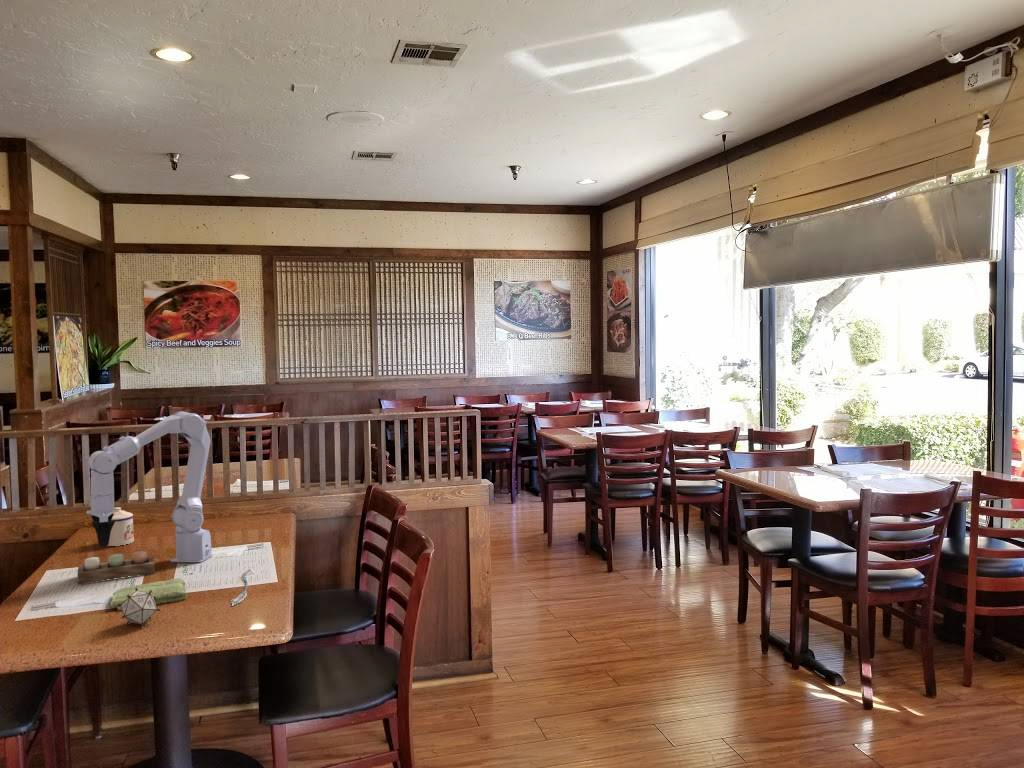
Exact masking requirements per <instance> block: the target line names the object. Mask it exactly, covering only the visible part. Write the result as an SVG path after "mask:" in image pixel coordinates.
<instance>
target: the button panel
mask: <svg viewBox="0 0 1024 768" xmlns="http://www.w3.org/2000/svg"><path fill="white" fill-rule="evenodd" d="M123 563H124V564H123V565H120V566H114V567H112V566H109V561H106V562H99V565H100V567H99V568H97V569H93V570H86V569H85V564H83V565H78V567H77V584H79V585H85V584H84V583H86V584H92V583H91V582H93V583H97V582H96V581H100V582H103V581H102V580H107V579H114V578H121V577H128V576H135V577H138V576H137V575H142V576H148V575H147V574H149V575H153V574H156V573H155V561H154V556H153V555H151V556H150V555H149V556H147V561H146V562H143V563H133V558H126V559H123ZM145 574H146V575H145ZM128 578H129V577H128ZM121 579H122V578H121ZM114 580H115V579H114ZM107 581H108V580H107Z"/></svg>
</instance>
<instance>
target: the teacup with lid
mask: <svg viewBox="0 0 1024 768" xmlns="http://www.w3.org/2000/svg"><path fill="white" fill-rule="evenodd" d="M114 509H115V512H114V513H113V514H114V515H113V517H112V519H111V521H112V520H115V523H114V525H113V527H112V530H111V533H110V539H109V544H108V546H107V547H109V546H116V547H121V546H120V545H124V546H127V545H126V544H128V545H130V543H131V544H132V543H133V542H134V541H135V537H134V534H135V533H134V532H135V531H134V514H133V513H132V512H129V511H126V510H124V509H123V510H122V507H119V506H117V507H114Z"/></svg>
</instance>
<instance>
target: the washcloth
mask: <svg viewBox="0 0 1024 768" xmlns="http://www.w3.org/2000/svg"><path fill="white" fill-rule="evenodd" d="M135 588H138V590H137V591H141V592H147V593H149V592H150V591H151V590H152V592H151V593H150V594H151V595H152V597H153V598H154V597H156V599H154V600H155V603H156V604H158V605H161V604H160V603H164V604H167V602H169V603H175V602H181V600H182V601H184V600H185V599H186V598H187V596H188V593H187V591H186V582H185V580H184V579H182V578H180V577H175V578H171V579H168V580H161V581H154V582H148V583H143V584H137V585H131V586H127V587H126V586H125V587H121V588H118V589H117V590H115V591H114V592H113V594H112V596H111V598H110V604H109V606H110V608H111V609H115V608H117V611H118V610H121V609H122V607H121V606H118V605H117V604H122V603H123V602H124V601H125V600H126V599H127V598H129V597H127V595H130V596H131V595H132V594H133V593H134V592H135V591H136V590H135ZM183 599H184V600H183ZM174 601H175V602H174Z"/></svg>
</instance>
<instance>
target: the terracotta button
mask: <svg viewBox="0 0 1024 768" xmlns="http://www.w3.org/2000/svg"><path fill="white" fill-rule="evenodd" d="M147 554H148V553H147V551H146V550H138V551H135V552H132V559H133V563H143V562H146V561H147V557H148V556H147Z"/></svg>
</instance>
